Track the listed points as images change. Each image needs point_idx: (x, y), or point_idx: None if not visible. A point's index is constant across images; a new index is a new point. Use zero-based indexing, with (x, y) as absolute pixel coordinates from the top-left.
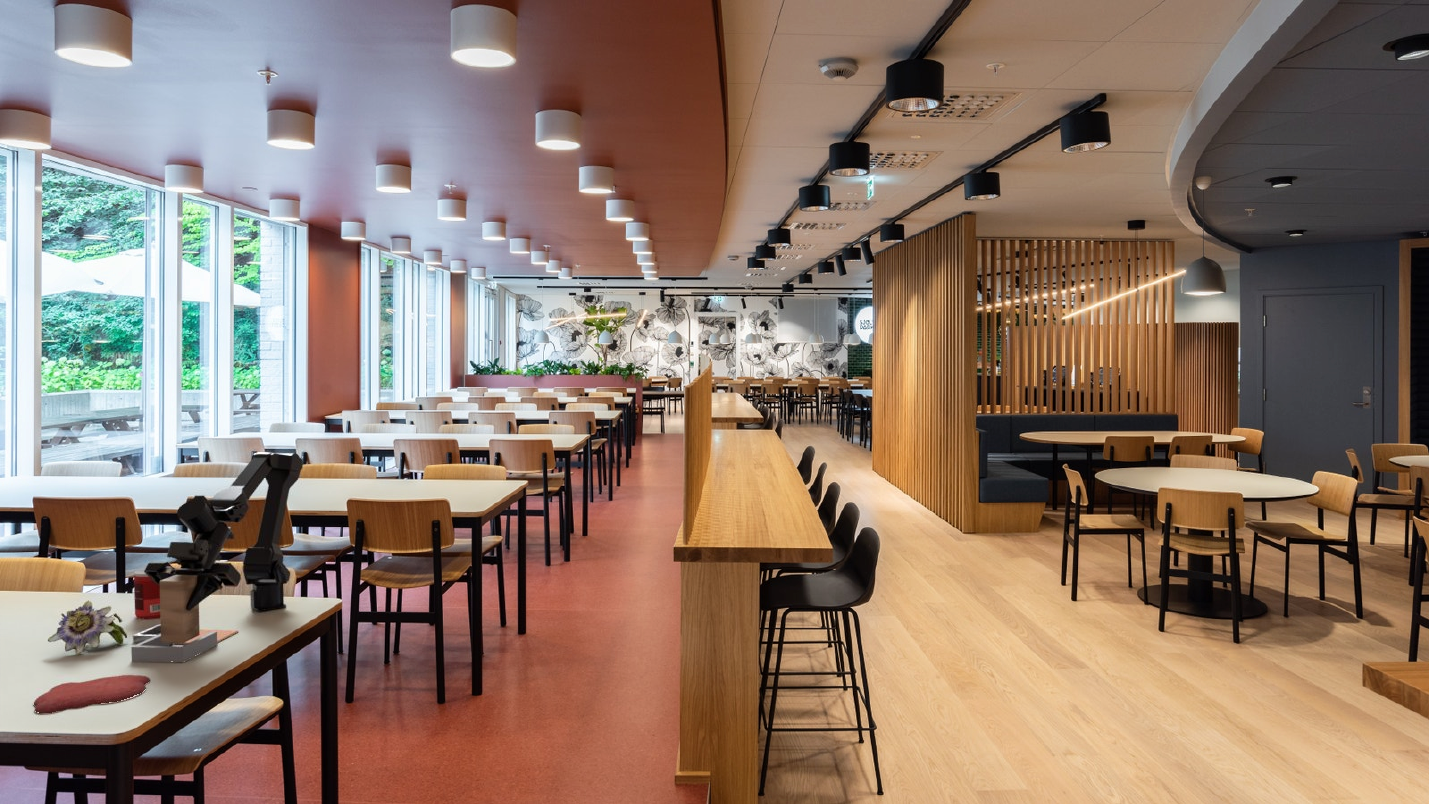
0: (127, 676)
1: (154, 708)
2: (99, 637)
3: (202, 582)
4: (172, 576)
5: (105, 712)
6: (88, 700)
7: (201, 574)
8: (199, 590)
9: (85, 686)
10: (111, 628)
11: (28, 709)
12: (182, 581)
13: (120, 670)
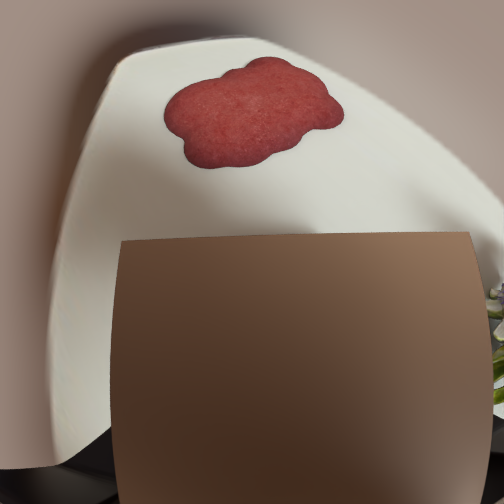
0: (226, 132)
1: (118, 92)
2: (496, 314)
3: (69, 474)
4: (479, 468)
5: (179, 71)
6: (224, 75)
7: (16, 500)
8: (111, 431)
9: (267, 91)
10: (501, 337)
11: (302, 67)
12: (128, 257)
13: (315, 206)
